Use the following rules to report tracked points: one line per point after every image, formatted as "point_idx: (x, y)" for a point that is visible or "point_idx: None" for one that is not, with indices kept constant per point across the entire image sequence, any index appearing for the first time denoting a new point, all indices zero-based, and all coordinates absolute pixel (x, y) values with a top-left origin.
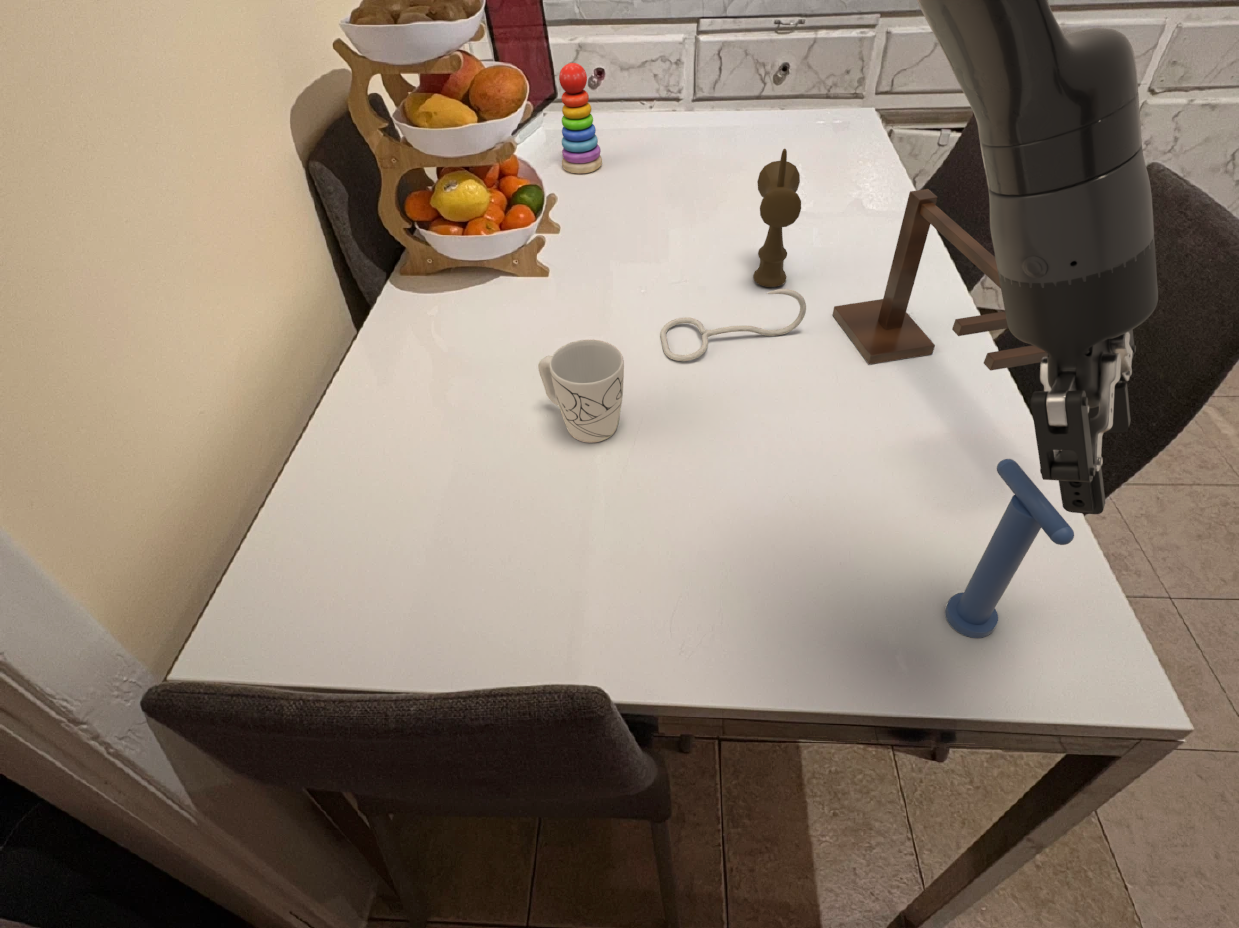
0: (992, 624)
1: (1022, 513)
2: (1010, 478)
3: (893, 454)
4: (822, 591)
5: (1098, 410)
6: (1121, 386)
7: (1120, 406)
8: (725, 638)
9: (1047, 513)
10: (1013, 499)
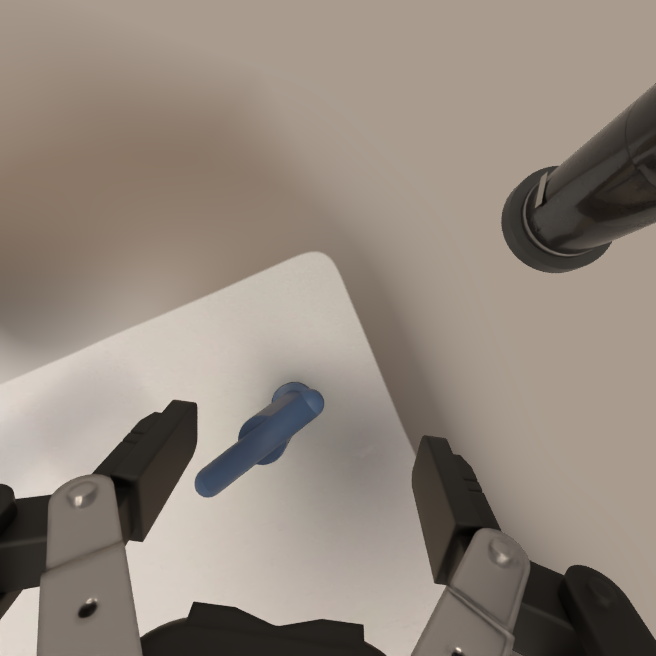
0: (300, 387)
1: (283, 448)
2: (234, 479)
3: None
4: (321, 537)
5: (173, 475)
6: (129, 483)
7: (166, 448)
8: (411, 610)
9: (290, 428)
10: (261, 462)
